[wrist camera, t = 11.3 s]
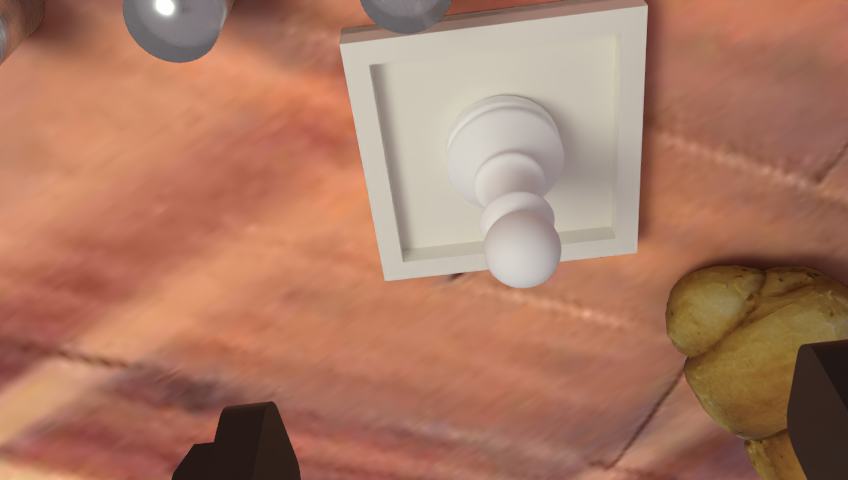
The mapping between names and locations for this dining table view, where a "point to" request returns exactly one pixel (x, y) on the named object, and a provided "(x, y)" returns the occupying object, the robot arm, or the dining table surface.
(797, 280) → the bread roll
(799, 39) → the dining table surface
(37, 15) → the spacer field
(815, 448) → the robot arm
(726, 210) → the dining table surface
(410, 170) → the square tray
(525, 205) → the chess pawn
